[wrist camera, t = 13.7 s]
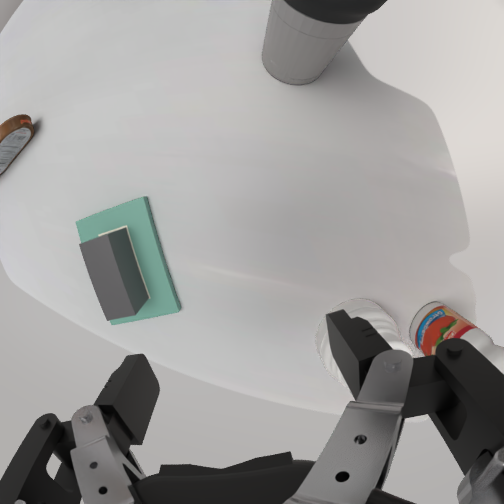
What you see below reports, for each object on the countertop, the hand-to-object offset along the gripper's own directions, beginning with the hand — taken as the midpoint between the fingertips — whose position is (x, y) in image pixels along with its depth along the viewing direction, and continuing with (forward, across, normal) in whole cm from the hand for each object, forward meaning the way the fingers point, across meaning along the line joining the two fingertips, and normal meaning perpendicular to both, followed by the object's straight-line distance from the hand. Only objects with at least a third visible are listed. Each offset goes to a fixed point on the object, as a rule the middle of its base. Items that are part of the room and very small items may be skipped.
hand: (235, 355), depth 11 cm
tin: (+28, +35, -26) cm, 52 cm away
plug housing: (+26, +17, 0) cm, 31 cm away
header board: (+28, +17, 0) cm, 33 cm away
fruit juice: (+28, -30, +24) cm, 48 cm away
